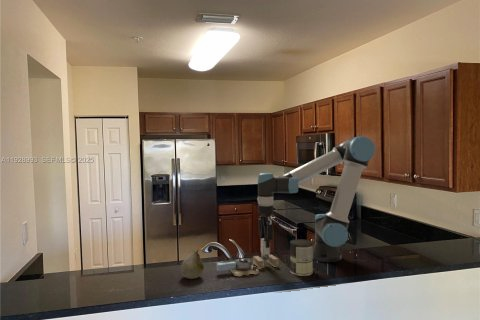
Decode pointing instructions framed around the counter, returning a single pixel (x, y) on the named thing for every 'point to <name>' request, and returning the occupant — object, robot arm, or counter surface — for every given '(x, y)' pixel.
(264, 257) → the pin
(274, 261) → the slot rails
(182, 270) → the fruit
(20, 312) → the counter surface
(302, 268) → the coffee can
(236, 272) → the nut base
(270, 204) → the robot arm
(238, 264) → the grey metal pan
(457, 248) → the counter surface
